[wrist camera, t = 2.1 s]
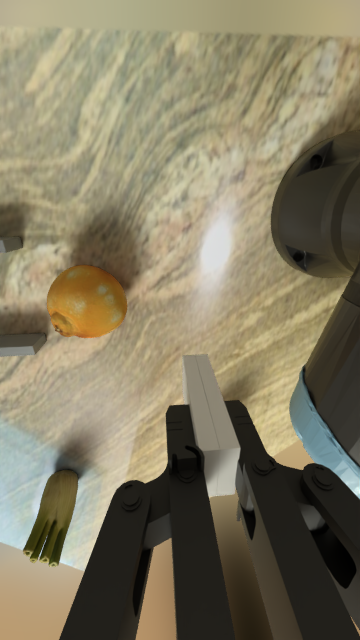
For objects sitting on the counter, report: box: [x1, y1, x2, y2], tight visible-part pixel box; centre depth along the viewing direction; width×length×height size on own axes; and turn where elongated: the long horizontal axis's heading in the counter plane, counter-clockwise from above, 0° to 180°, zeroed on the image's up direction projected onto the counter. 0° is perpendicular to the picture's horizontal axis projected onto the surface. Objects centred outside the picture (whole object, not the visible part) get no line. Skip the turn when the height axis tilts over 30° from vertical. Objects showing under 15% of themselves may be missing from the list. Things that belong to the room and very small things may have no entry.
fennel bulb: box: [23, 470, 78, 567], centre depth 39 cm, size 6×5×12 cm
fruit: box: [47, 265, 127, 338], centre depth 28 cm, size 8×8×8 cm
